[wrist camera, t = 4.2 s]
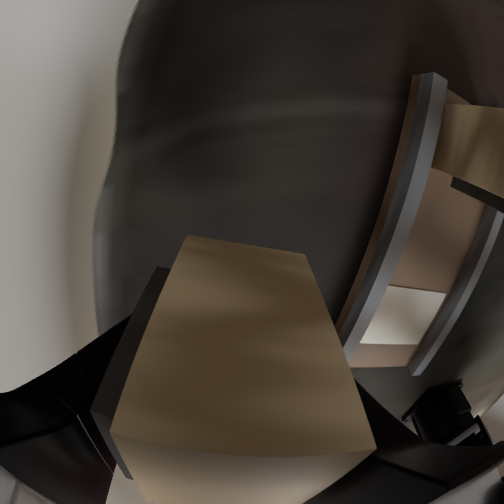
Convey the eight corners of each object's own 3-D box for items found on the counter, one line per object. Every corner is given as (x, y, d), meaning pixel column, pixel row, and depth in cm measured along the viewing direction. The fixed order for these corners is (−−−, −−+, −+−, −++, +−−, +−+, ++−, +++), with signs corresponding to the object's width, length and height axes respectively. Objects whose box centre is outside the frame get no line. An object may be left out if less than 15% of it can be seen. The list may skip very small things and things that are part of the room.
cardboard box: (304, 254, 10) (377, 447, 3) (271, 356, 12) (286, 512, 5) (169, 231, 9) (72, 418, 3) (164, 341, 11) (126, 495, 5)
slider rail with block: (410, 357, 21) (446, 427, 14) (320, 356, 20) (344, 448, 13) (501, 133, 13) (585, 160, 5) (412, 75, 12) (517, 65, 4)
